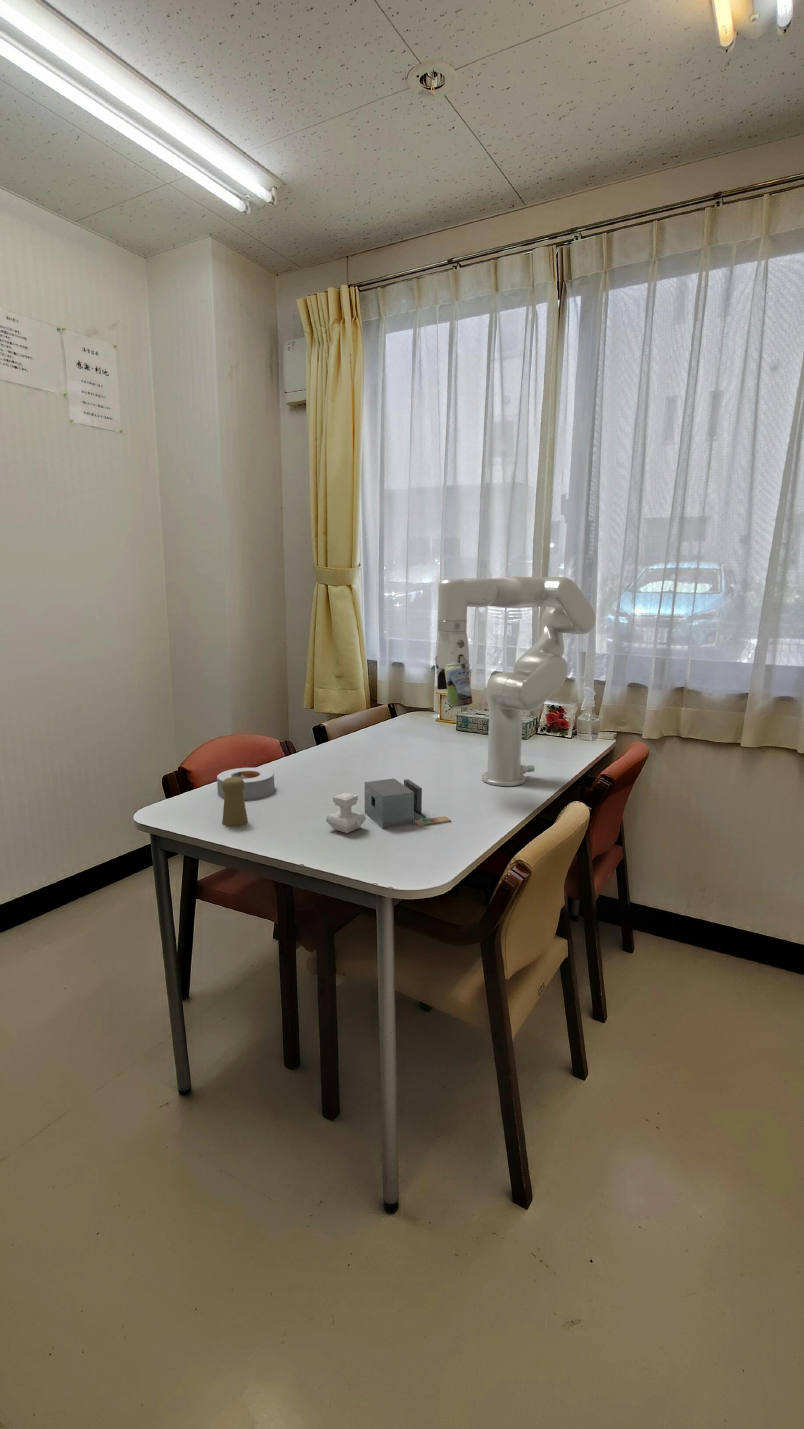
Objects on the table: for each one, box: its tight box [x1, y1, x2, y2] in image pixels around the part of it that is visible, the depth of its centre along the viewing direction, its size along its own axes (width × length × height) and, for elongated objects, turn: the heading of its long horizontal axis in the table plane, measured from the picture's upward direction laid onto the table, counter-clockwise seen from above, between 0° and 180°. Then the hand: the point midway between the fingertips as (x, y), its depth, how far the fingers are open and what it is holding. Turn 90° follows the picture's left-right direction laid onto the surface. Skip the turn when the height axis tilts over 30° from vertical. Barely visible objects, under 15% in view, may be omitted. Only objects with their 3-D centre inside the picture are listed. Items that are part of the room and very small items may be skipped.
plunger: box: [403, 778, 427, 819], centre depth 159 cm, size 9×11×6 cm
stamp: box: [325, 792, 367, 834], centre depth 153 cm, size 9×7×8 cm
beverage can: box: [445, 663, 473, 709], centre depth 169 cm, size 6×7×12 cm
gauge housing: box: [364, 778, 415, 830], centre depth 160 cm, size 8×12×8 cm, turn 24°
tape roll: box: [216, 767, 275, 801], centre depth 181 cm, size 15×15×5 cm
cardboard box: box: [414, 815, 452, 827], centre depth 158 cm, size 8×3×1 cm, turn 114°
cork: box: [222, 777, 249, 828], centre depth 157 cm, size 6×6×11 cm
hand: (451, 691), depth 175 cm, fingers open, 9 cm apart
